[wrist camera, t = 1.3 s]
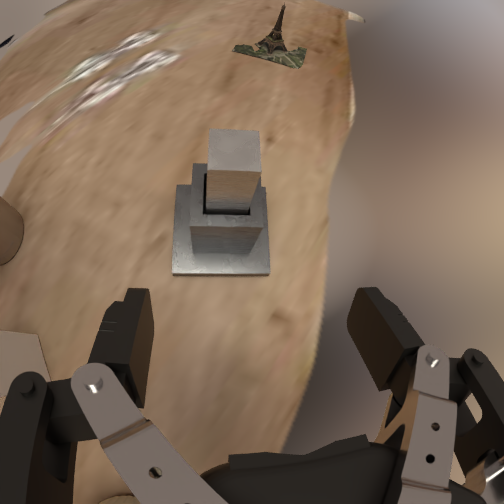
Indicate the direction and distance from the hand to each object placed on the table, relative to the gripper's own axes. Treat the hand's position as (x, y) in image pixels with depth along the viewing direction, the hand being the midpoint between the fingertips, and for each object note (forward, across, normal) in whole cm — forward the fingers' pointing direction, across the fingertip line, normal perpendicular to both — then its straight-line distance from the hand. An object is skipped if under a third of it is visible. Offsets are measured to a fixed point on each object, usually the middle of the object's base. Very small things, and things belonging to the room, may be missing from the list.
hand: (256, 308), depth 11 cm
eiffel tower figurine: (+58, -10, -20) cm, 62 cm away
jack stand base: (+27, 0, +9) cm, 29 cm away
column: (+26, 0, +8) cm, 27 cm away
